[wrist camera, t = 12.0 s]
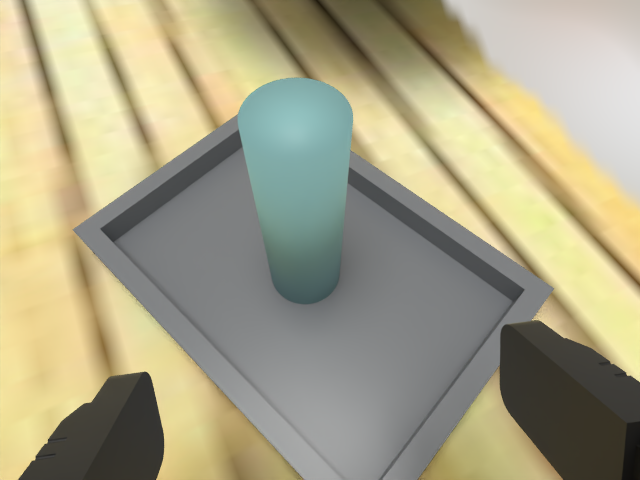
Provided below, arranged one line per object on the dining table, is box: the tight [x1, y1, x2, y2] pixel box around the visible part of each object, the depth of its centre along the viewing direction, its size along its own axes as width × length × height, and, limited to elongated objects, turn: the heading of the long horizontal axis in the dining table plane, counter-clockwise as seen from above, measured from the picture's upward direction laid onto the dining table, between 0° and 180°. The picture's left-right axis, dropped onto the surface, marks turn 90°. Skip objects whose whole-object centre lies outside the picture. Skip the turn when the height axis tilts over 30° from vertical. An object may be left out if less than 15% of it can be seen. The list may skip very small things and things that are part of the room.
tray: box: [73, 114, 554, 480], centre depth 23 cm, size 20×14×2 cm
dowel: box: [238, 78, 353, 304], centre depth 18 cm, size 4×4×11 cm
